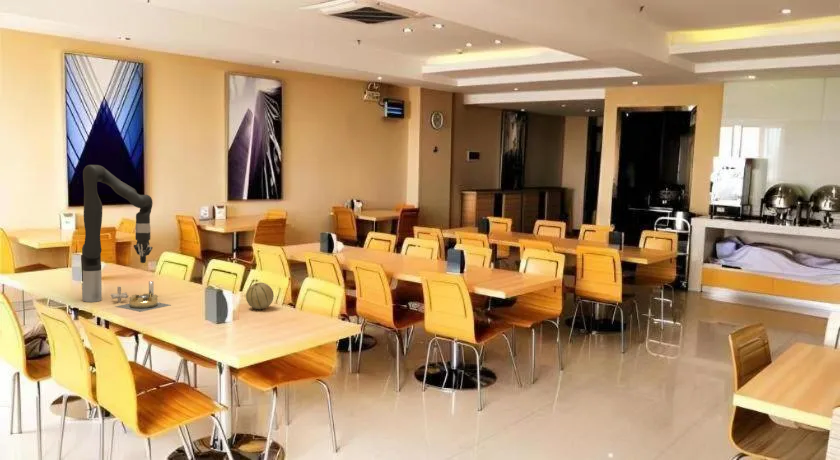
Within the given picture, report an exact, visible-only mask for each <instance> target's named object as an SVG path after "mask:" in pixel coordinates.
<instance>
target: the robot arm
mask: <svg viewBox="0 0 840 460" xmlns="http://www.w3.org/2000/svg"><path fill="white" fill-rule="evenodd" d="M82 181H83V225H84V230H85V231H84V232H85V233H84V234H85V235H84V236H85V237H84V244H83V245H82V248H81V256H82V258H81V259H82V260H81V261H82V262H81V263H82V265H81V266H82V283H81V287H82V288H81V294H82V295H81V296H82V297H81V298H82V301H83V302H87V303H95V302H96V303H97V302H100V301H102V297H103V295H102V294H103V293H102V289H103V288H102V287H103V285H102V261H101V260H102V258H101V256H102V244H101V243H102V242H101V231H102V229H101V228H102V221H103V203H102V201H101V198H100V197H99V194H98V193H99V192H98V182H100V183H102V184H105V185H107V186H109V187H111V189H112V191H114V192H115V194H117V195H119V196H120V197H122V198H123V199H125V200H127V201H128V202H129V203H130V204H131V205H132V206H134V207H136V208H139V211H138V212H137V213H136V214H135V240H136V244H133V248H134V250H135V252H136V254H137V255H138V256H139V262H140V263H141V264H146V262H147V256H149V255H150V253H151V251H152V250H153V248H154V247H153V246H151V245H150V241H151V212H152V208H153V199H152V197H151V196H150V195H149V194H140V193H138V192H137V190H136V189H135V188H134V187H132V186H130V185H128V184H127V183H125V182H123V181H121V179H120V178H118V177H116V176H115V175H114V174H113V173H111V172H110V171H109V170H108V169H106V168H105V167H104V166H102V165H100V164H87V165H85V167H84V168H83V170H82Z"/></svg>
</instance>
